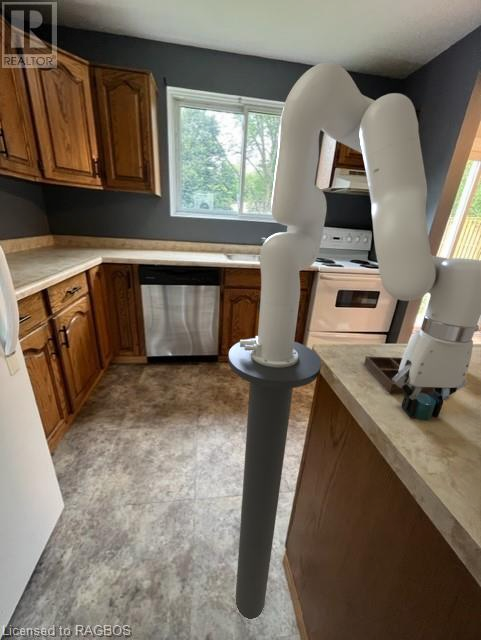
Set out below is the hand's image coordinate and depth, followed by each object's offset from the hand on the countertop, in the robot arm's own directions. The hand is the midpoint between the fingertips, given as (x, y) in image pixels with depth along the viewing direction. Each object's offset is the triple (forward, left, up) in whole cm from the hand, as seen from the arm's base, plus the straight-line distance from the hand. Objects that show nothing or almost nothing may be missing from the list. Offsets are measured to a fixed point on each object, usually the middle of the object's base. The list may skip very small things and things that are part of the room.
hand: (419, 411), depth 55 cm
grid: (+4, +13, 0) cm, 14 cm away
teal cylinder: (0, 0, 0) cm, 0 cm away
